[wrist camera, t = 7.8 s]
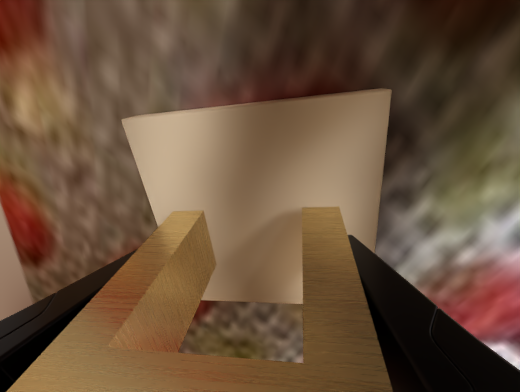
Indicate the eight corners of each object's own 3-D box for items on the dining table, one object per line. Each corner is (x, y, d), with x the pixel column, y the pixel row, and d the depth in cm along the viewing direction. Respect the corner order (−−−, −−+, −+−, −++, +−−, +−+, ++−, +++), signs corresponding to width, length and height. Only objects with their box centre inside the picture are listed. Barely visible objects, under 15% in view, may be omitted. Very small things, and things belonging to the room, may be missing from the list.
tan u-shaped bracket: (339, 206, 8) (438, 544, 2) (337, 265, 9) (401, 596, 3) (173, 211, 9) (-47, 449, 3) (189, 263, 10) (42, 513, 4)
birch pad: (381, 87, 8) (391, 90, 7) (363, 289, 12) (368, 306, 11) (137, 115, 10) (121, 119, 9) (190, 284, 14) (183, 299, 13)
